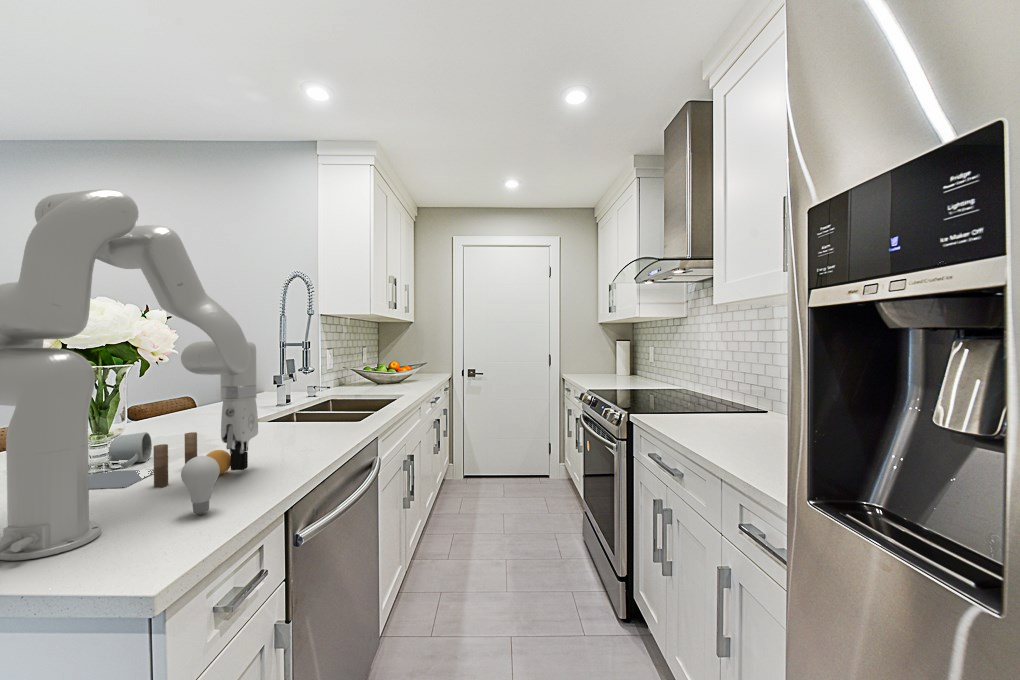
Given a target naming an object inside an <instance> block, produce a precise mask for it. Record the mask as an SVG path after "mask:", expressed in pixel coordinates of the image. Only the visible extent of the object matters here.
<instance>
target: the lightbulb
mask: <svg viewBox="0 0 1020 680" xmlns="http://www.w3.org/2000/svg"><path fill="white" fill-rule="evenodd" d="M219 473H220V468H219V465H218V463H217V461H216V460H215V459H213V458H211V457H208V456H206V455H197V457H194V458H192V459H191V460H189V461H188V462H187V463H186V464H185V463H184V465H183V467H182V469H181V473H180V478H181V482H182V483H183V484H184V486H185V487H186V488H187V490H188V492H189V496H190V502H191V503H192V512H193V513H194V514H196V515H199V516H200V515H201V516H202V515H204V514H205V513H206V512H208V511H209V510H210V499H211V498H212V490H213V487H214V485H215V483H216V482H217V480H218V478H219V476H220V475H219Z"/></svg>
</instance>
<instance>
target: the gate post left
mask: <svg viewBox="0 0 1020 680" xmlns="http://www.w3.org/2000/svg"><path fill="white" fill-rule="evenodd" d="M153 469H154V474H153V488H155V487H161V488H164V487H163V486H165V487H168V486H169V445H168V444H167V443H166V444H165V443H163V444H156V445H154V446H153ZM167 485H168V486H167Z"/></svg>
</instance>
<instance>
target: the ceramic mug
mask: <svg viewBox="0 0 1020 680" xmlns="http://www.w3.org/2000/svg"><path fill="white" fill-rule="evenodd" d="M118 436H119V437H117V438H115V439H114V440H113V441H112V442H111V444H110V447H109V458H108V459H109V461H119V460H128V461H127V462H124V463H121V464H114V465H121V466H123V467H126V468H128V467H130V466H132V465H134V464H135V462H138V463H146V462H148V461H149V460H150V458H151V455H152V444H153V443H152V438H151V436H150V433H148V432H147V431H145V432H137V433H131V434H130V433H129V434H123V435H118ZM148 459H149V460H148ZM147 460H148V461H147ZM145 461H146V462H145Z"/></svg>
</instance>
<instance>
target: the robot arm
mask: <svg viewBox="0 0 1020 680" xmlns="http://www.w3.org/2000/svg"><path fill="white" fill-rule="evenodd" d="M139 214H140V213H139V209H138V205H137V203H136V201H135V200H134V199H133V198H132V197H131V196H130V195H128V194H126V193H124V192H122V191H118V190H115V189H109V188H108V189H106V188H105V189H104V188H100V189H90V190H88V189H87V190H82V191H81V190H80V191H74V192H62V193H54V194H50V195H48V196H45V197H44V198H42V199H41V200H40V201H39V202H38V203H37V204H36V206H35V208H34V219H35V222H36V224H35V225H34V227H33V228H32V230H31V231H30V233H29V235H28V237H27V239H26V243H25V245H24V251H23V257H22V260H21V261H22V262H21V267H20V274H19V278H18V281H16V282H15V281H14V282H5V283H1V284H0V406H10V407H15V409H14V410H13V414H12V416H11V418H10V421H9V424H8V427H7V432H6V438H5V439H6V440H5V441H6V442H5V449H6V450H5V453H6V454H5V455H6V501H7V503H6V505H7V507H6V508H7V526H6V527H4V528H3V529H2V531H3V533H2V534H3V535H2V536H1V537H0V560H1V561H25V560H32V559H38V558H43V557H48V556H53V555H56V554H61V553H65V552H67V551H70V550H74V549H77V548H79V547H82V546H84V545H86V544H88V543H90V542H92V541H95V539H97V538H98V537H99V536H100V535H102V534H101V533H102V525H101V524H100V523H98V522H96V521H90V494H89V493H90V489H89V473H90V471H89V468H90V467H89V415H90V407H91V402H92V397H93V393H94V389H95V382H96V378H95V377H96V376H95V375H96V373H95V372H94V368H93V366H92V364H91V363H90V362H89V360H88V359H87V358H85V357H84V356H83V355H81V354H79V353H77V352H75V351H73V350H69V349H65V348H59V347H58V348H57V347H44V341H45V340H63V339H64V340H65V339H70V338H73V337H75V336H78V335H79V334H80V333H82V332H83V331H84V329H86V327H87V324H88V321H89V316H90V309H91V308H90V307H91V306H90V305H91V297H92V286H93V275H94V274H93V273H94V268H95V263H96V260H98V261H100V262H103V263H105V264H108V265H110V266H113V267H116V268H119V269H124V270H141V272H142V274H143V275H144V278H145V279H146V282H147V283H148V285H149V287H150V289H151V290H152V292H153V294H154V296H155V299H156V301H157V303H158V305H159V306H160V308H161V309H162V310H164V311H165V312H167V313H169V314H171V315H173V316H175V317H176V318H179V319H181V320H184V321H186V322H189V323H190V324H192V325H195V326H196V327H198V328H199V329H200V330H201V331H203V332H204V333H205V334H206V335H207V336H208V337H209V338H210V339H211V340H209V341H208V340H202V341H200V340H199V341H196V342H195V341H194V342H192V343H191V344H188V345H187V346H186V347H185V348H184V349H183V350H182V352H181V355H180V362H181V365H182V366H183V367H184V368H185V369H186V371H188V372H190V373H192V374H196V375H203V376H204V375H205V376H206V375H210V376H215V375H218V376H220V401H222V407H221V419H220V439H221V442H222V443H223V444H226V446H225V447H226V450H229V454H230V456H231V466H230V470H231V471H244V470H246V469H247V468H248V466H249V464H248V462H249V459H248V457H249V455H248V451H249V443H250V440H252V439H254V438H255V437H256V436H257V435H259V419H258V416H259V415H258V406H257V400H256V399H257V345H256V344H255V343H254V342H252V341H247V338H246V337H245V336H246V335H245V334H244V331H243V329H242V328H241V326H240V324H239V323H238V321H237V320H236V319H235V318H234V317H233V316H232V314H230V313H229V312H228V311H227V310H226V309H225V308H224V307H223V306H222V305H220V304H219V303H218V302H217V301H215V299H212V297H210V295H208V294H207V293H206V291H205V289H204V286H203V285H202V282H201V280H200V279H199V276H198V274H197V271H196V269H195V267H194V265H193V264H192V261H191V258H190V255H189V254H188V252H187V250H186V248H185V246H184V243H183V241H182V239H181V238H180V236H179V234H178V233H177V232H176V231H175V230H174V229H171V227H168V226H164V225H157V224H156V225H154V224H150V225H149V224H148V225H147V224H146V225H137V223H138V219H139Z"/></svg>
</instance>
